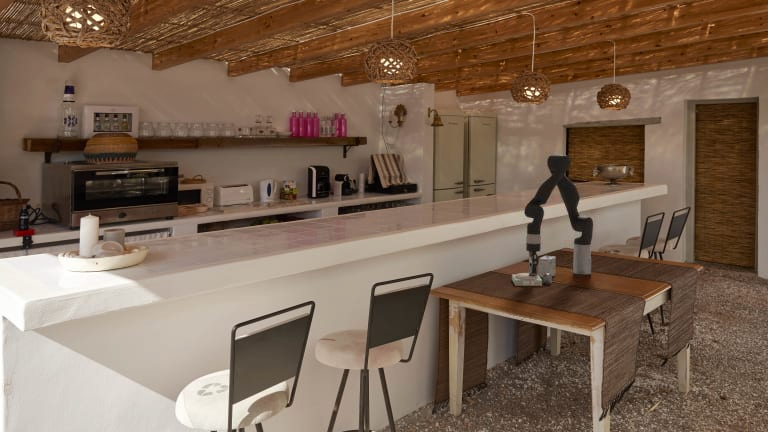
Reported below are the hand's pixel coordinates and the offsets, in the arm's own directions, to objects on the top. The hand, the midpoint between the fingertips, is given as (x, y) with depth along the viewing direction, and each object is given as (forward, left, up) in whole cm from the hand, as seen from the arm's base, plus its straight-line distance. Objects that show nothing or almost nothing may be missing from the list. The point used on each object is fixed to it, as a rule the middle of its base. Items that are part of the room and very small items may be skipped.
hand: (532, 271), depth 319 cm
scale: (+3, 0, -6) cm, 7 cm away
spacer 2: (-8, 0, -6) cm, 10 cm away
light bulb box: (-11, -18, -6) cm, 22 cm away
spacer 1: (0, 0, -2) cm, 2 cm away
